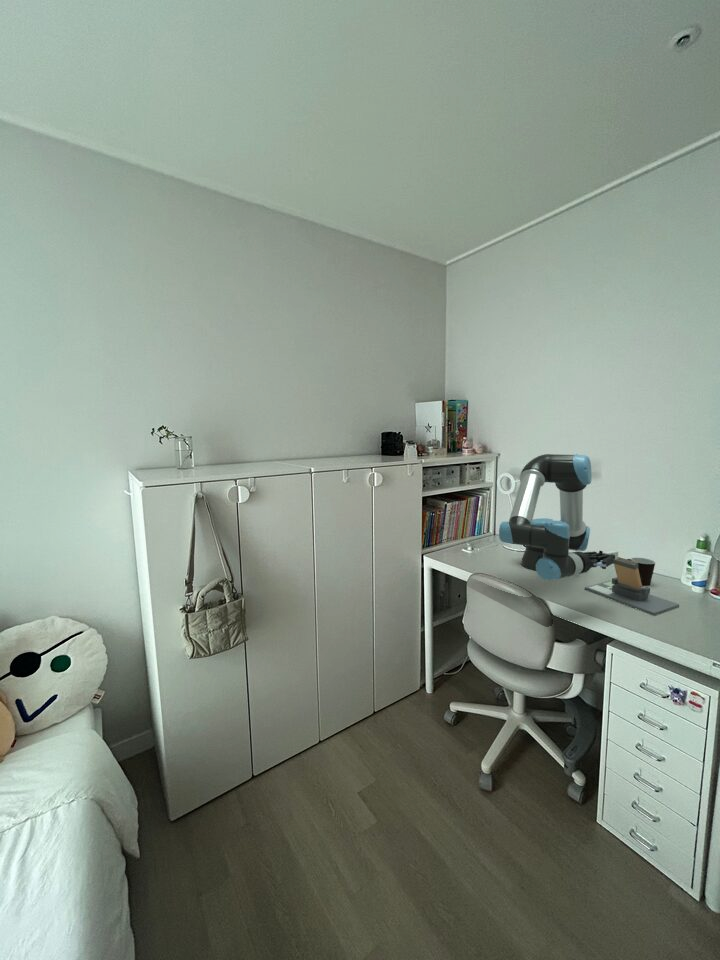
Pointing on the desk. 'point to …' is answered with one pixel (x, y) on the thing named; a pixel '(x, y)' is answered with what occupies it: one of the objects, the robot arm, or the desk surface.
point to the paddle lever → (628, 573)
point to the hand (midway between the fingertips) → (616, 554)
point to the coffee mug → (645, 569)
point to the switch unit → (632, 597)
